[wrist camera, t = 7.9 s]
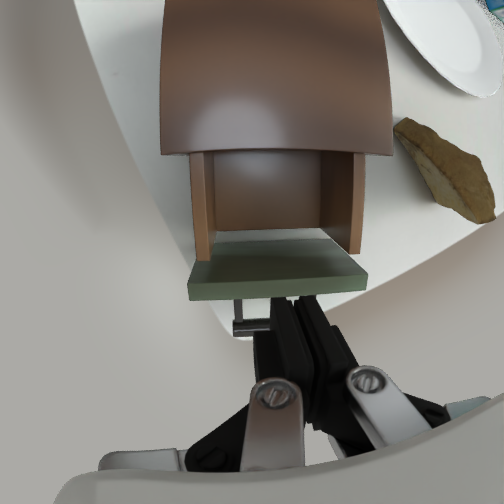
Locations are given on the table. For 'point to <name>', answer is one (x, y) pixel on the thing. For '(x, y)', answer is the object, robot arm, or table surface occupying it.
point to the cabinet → (274, 77)
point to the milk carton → (496, 8)
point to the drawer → (275, 225)
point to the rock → (449, 172)
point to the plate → (453, 41)
